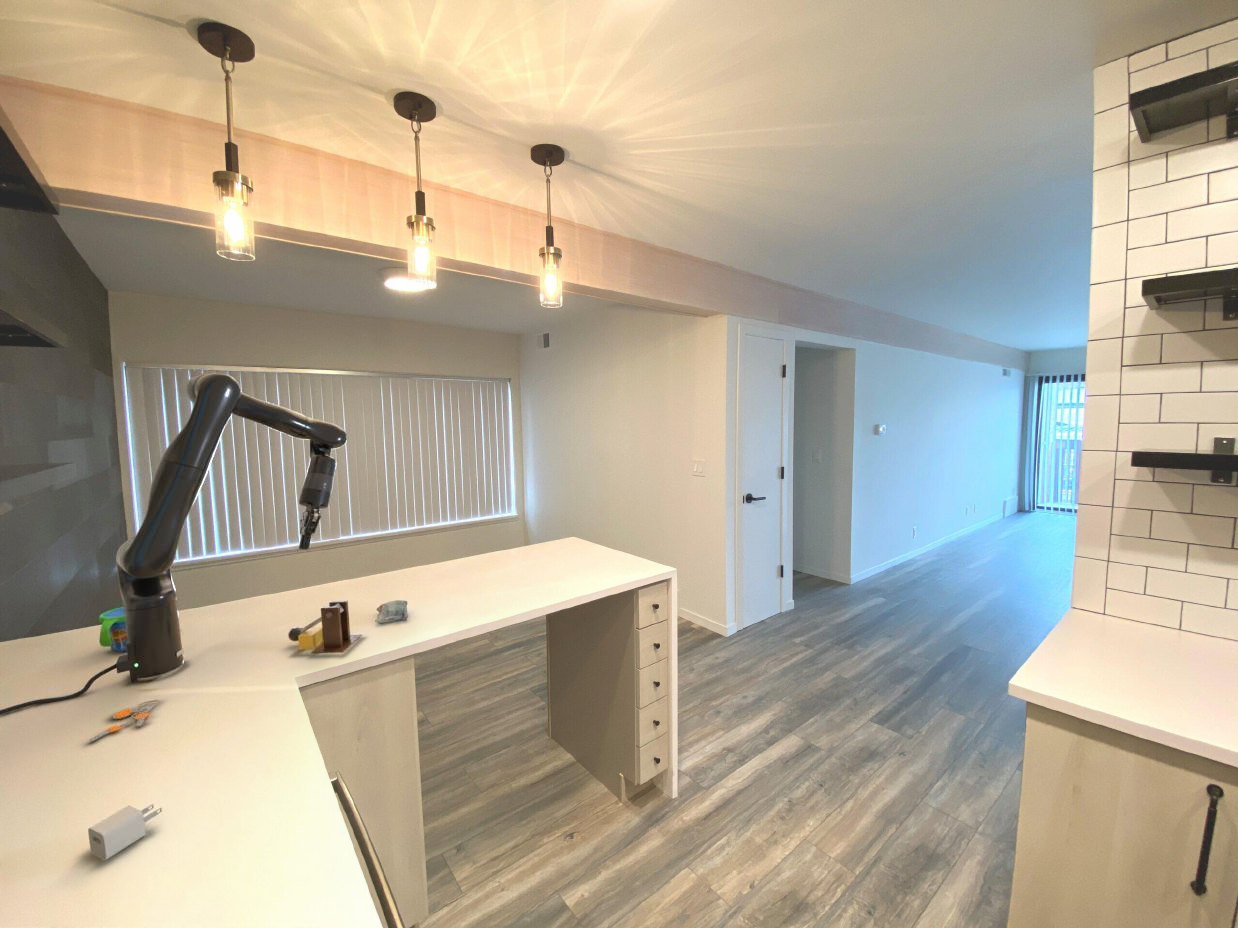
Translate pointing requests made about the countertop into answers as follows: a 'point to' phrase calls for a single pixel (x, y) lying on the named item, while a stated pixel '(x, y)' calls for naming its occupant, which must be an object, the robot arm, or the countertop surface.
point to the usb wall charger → (118, 831)
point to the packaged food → (392, 611)
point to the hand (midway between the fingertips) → (303, 549)
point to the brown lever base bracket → (335, 629)
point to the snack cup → (113, 630)
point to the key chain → (139, 716)
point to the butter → (310, 638)
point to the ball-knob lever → (298, 630)
